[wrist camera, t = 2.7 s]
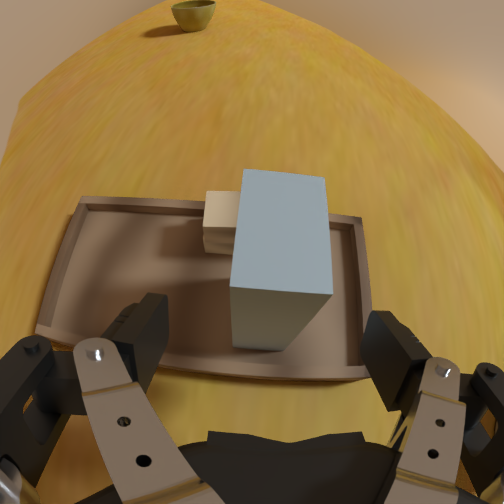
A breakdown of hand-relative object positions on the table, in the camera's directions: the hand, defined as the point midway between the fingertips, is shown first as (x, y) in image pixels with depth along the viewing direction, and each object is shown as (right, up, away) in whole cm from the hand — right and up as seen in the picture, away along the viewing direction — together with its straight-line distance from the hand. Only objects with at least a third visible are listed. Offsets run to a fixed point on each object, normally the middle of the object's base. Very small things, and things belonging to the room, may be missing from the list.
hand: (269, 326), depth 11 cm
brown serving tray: (-5, 0, +11) cm, 12 cm away
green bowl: (-14, +54, +41) cm, 70 cm away
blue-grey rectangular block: (0, -1, +9) cm, 9 cm away
